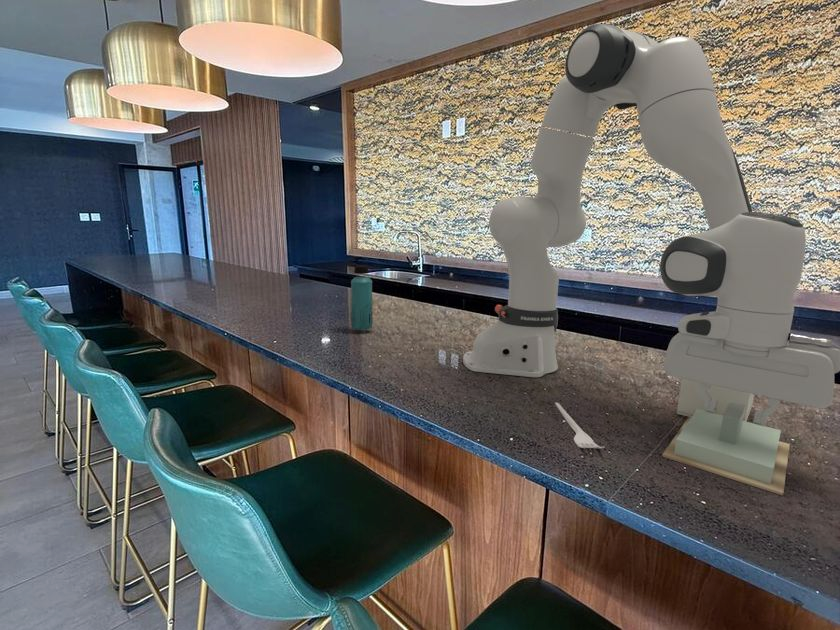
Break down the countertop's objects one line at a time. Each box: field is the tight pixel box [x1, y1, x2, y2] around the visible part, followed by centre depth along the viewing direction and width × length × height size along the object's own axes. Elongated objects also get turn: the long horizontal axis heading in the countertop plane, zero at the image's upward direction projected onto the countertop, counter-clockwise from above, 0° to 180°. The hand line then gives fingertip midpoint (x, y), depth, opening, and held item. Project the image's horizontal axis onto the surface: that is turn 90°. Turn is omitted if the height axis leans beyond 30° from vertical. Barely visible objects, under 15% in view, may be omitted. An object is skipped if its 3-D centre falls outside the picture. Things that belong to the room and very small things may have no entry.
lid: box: [674, 402, 781, 484], centre depth 68 cm, size 15×11×6 cm
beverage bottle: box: [350, 265, 374, 331], centre depth 133 cm, size 6×7×20 cm
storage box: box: [676, 378, 755, 422], centre depth 83 cm, size 14×10×7 cm
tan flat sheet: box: [661, 416, 791, 496], centre depth 68 cm, size 18×14×1 cm
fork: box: [554, 402, 605, 449], centre depth 75 cm, size 3×20×2 cm, turn 179°
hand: (733, 417), depth 67 cm, fingers open, 5 cm apart
